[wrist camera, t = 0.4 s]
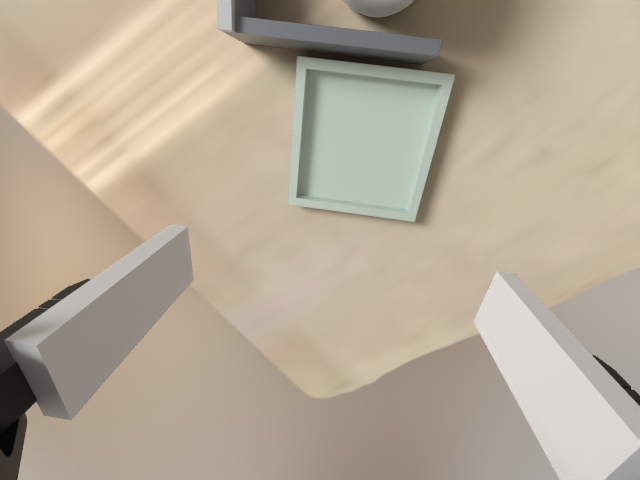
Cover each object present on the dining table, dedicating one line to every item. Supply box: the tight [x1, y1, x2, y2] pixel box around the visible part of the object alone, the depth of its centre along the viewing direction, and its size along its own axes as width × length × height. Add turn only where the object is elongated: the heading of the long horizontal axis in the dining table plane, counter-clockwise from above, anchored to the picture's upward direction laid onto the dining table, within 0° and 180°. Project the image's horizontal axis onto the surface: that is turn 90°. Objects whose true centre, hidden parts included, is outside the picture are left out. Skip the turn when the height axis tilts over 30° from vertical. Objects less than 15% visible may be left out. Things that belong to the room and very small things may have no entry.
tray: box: [288, 56, 456, 222], centre depth 33 cm, size 16×16×2 cm
